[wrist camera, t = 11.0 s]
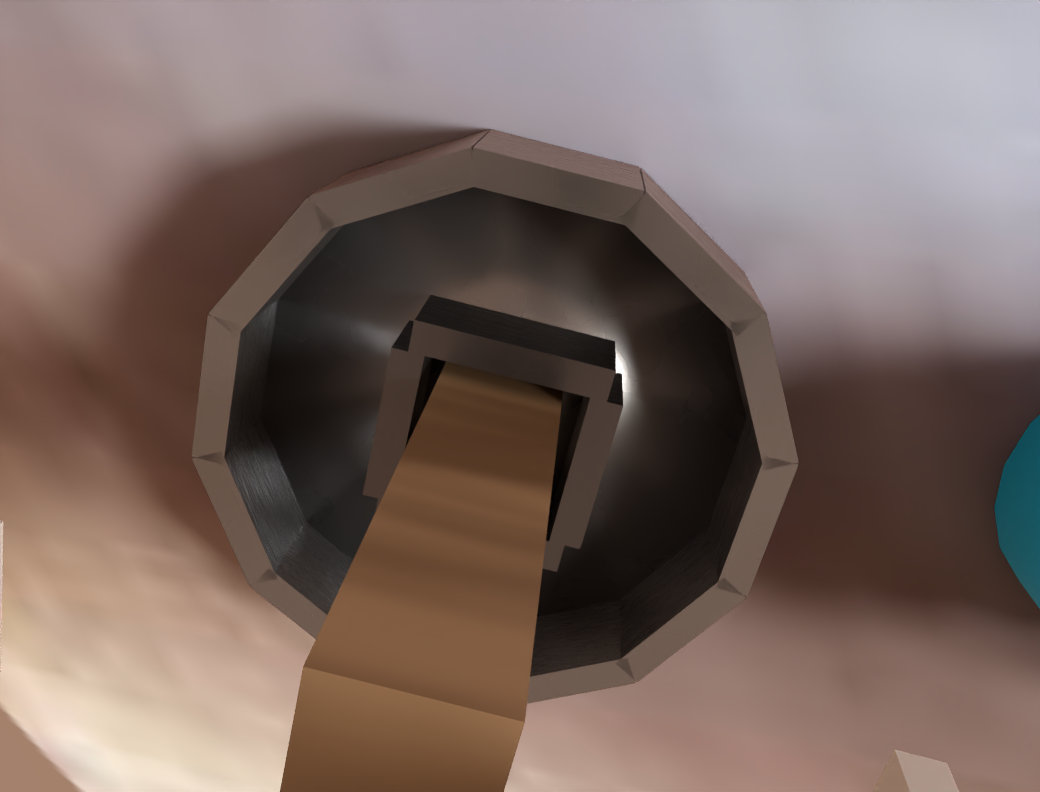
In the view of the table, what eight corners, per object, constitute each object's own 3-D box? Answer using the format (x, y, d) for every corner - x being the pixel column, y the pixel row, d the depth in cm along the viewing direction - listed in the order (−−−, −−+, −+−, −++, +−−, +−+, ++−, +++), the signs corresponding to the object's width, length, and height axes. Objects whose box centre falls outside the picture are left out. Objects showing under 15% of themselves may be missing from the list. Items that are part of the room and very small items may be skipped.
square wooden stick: (451, 349, 25) (303, 666, 13) (564, 378, 25) (524, 721, 13) (428, 451, 26) (271, 832, 14) (537, 479, 26) (476, 883, 14)
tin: (286, 77, 23) (234, 86, 20) (843, 219, 23) (881, 250, 20) (221, 558, 29) (171, 627, 25) (676, 672, 29) (685, 755, 25)
